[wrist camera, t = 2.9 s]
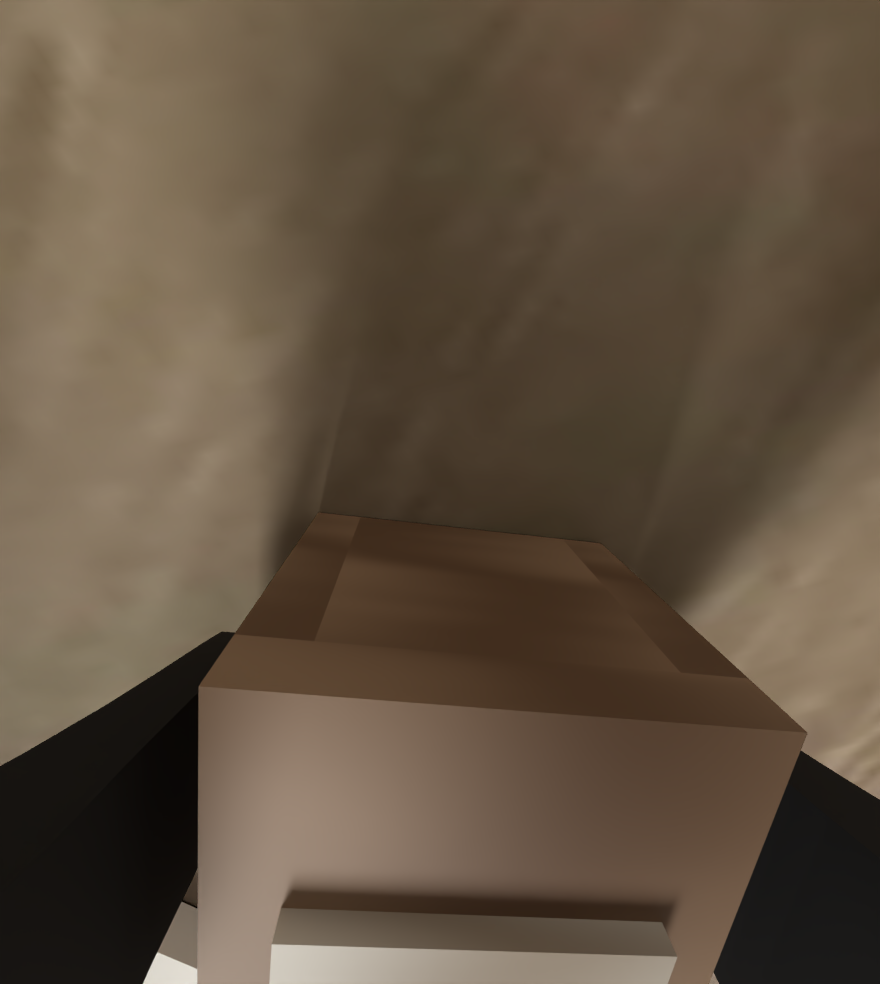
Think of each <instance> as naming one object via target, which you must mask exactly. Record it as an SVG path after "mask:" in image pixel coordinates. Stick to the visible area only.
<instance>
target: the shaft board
mask: <svg viewBox="0 0 880 984" xmlns="http://www.w3.org/2000/svg"><path fill="white" fill-rule="evenodd" d="M197 945H198V909H197V908H195V907H192V906H190V905H188V904H186V903H183V902H181V904H180V906H179V908H178V910H177V912H176V914H175V917H174V919H173V921H172V923H171V925H170V927H169V929H168V931H167V933H166V935H165V937H164V940H163V942H162V944H161V946H160V948H159V950H158V952H157V954H156V956H155V958H154V960H153V963H152V965H151V967H150V969H149V971H148V973H147V976H146V978H145V980H144V982H143V984H197Z"/></svg>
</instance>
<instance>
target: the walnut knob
mask: <svg viewBox="0 0 880 984" xmlns="http://www.w3.org/2000/svg"><path fill="white" fill-rule="evenodd" d="M806 735H807V732H806V731H805V730H804V729H803V728H802V727H801V726H800V725H798V724H797V723H796V722H795V721H794V720H793V719H792V718H791V717H790V716H789V715H788V714H786V713H785V712H784V711H783V710H782V709H781V708H780V707H779V706H778V705H777V704H776V703H774V702H773V701H772V700H771V699H770V698H769V697H768V696H767V695H766V694H765V693H764V692H762V691H761V690H760V689H759V688H758V687H757V686H756V685H755V684H754V683H753V682H752V681H750V680H749V679H748V678H747V677H746V676H745V675H744V674H743V673H742V672H741V671H740V670H739V669H737V668H736V667H735V666H734V665H733V664H732V663H731V662H730V661H729V660H728V659H727V658H725V657H724V656H723V655H722V654H721V653H720V652H719V651H718V650H717V649H716V648H715V647H713V646H712V645H711V644H710V643H709V642H708V641H707V640H706V639H705V638H704V637H703V636H701V635H700V634H699V633H698V632H697V631H696V630H695V629H694V628H693V627H692V626H691V625H689V624H688V623H687V622H686V621H685V620H684V619H683V618H682V617H681V616H680V615H679V614H677V613H676V612H675V611H674V610H673V609H672V608H671V607H670V606H669V605H668V604H667V603H666V602H664V601H663V600H662V599H661V598H660V597H659V596H658V595H657V594H656V593H655V592H654V591H652V590H651V589H650V588H649V587H648V586H647V585H646V584H645V583H644V582H643V581H642V580H640V579H639V578H638V577H637V576H636V575H635V574H634V573H633V572H632V571H631V570H630V569H628V568H627V567H626V566H625V565H624V564H623V563H622V562H621V561H620V560H619V559H618V558H616V557H615V556H614V555H613V554H612V553H611V552H610V551H609V550H608V549H607V548H606V547H604V546H603V545H602V544H601V543H594V542H584V541H575V540H566V539H557V538H548V537H539V536H530V535H521V534H511V533H502V532H493V531H484V530H475V529H466V528H457V527H447V526H438V525H429V524H420V523H411V522H402V521H393V520H384V519H374V518H365V517H356V516H347V515H338V514H329V513H320V512H318V514H317V515H316V517H315V518H314V520H313V521H312V522H311V524H310V525H309V527H308V528H307V530H306V531H305V533H304V534H303V536H302V537H301V538H300V540H299V541H298V543H297V544H296V546H295V547H294V549H293V550H292V551H291V553H290V554H289V556H288V557H287V559H286V560H285V562H284V563H283V565H282V566H281V567H280V569H279V570H278V572H277V573H276V575H275V576H274V578H273V579H272V581H271V582H270V583H269V585H268V586H267V588H266V589H265V591H264V592H263V594H262V595H261V597H260V598H259V599H258V601H257V602H256V604H255V605H254V607H253V608H252V610H251V611H250V612H249V614H248V615H247V617H246V618H245V620H244V621H243V623H242V624H241V626H240V627H239V628H238V630H237V631H236V633H235V634H234V636H233V637H232V639H231V640H230V642H229V643H228V644H227V646H226V647H225V649H224V650H223V652H222V653H221V655H220V656H219V657H218V659H217V660H216V662H215V663H214V665H213V666H212V668H211V669H210V671H209V672H208V673H207V675H206V676H205V678H204V679H203V681H202V682H201V684H200V685H199V704H198V945H197V984H709V982H710V979H711V977H712V974H713V972H714V969H715V967H716V964H717V962H718V959H719V957H720V954H721V951H722V949H723V946H724V944H725V941H726V939H727V936H728V934H729V931H730V929H731V926H732V923H733V921H734V918H735V916H736V913H737V911H738V908H739V906H740V903H741V901H742V898H743V895H744V893H745V890H746V888H747V885H748V883H749V880H750V878H751V875H752V873H753V870H754V868H755V865H756V862H757V860H758V857H759V855H760V852H761V850H762V847H763V845H764V842H765V840H766V837H767V834H768V832H769V829H770V827H771V824H772V822H773V819H774V817H775V814H776V812H777V809H778V806H779V804H780V801H781V799H782V796H783V794H784V791H785V789H786V786H787V784H788V781H789V778H790V776H791V773H792V771H793V768H794V766H795V763H796V761H797V758H798V756H799V753H800V750H801V748H802V745H803V743H804V740H805V738H806Z"/></svg>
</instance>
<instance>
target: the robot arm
mask: <svg viewBox="0 0 880 984" xmlns="http://www.w3.org/2000/svg"><path fill="white" fill-rule="evenodd" d="M234 634H235V633H232V632H220V633H219V634H217V635H215V636H214V637H212V638H210V639H209V640H207V641H205V642H204V643H202V644H201V645H199V646H198V647H196V648H195V649H193V650H192V651H190V652H188V653H187V654H185V655H184V656H182V657H181V658H179V659H178V660H176V661H175V662H173V663H172V664H170V665H169V666H167V667H165V668H164V669H162V670H161V671H159V672H158V673H156V674H155V675H153V676H151V677H150V678H148V679H147V680H145V681H144V682H142V683H140V684H139V685H137V686H136V687H134V688H132V689H131V690H129V691H128V692H126V693H125V694H123V695H121V696H120V697H118V698H117V699H115V700H114V701H112V702H110V703H109V704H107V705H105V706H104V707H102V708H100V709H99V710H97V711H95V712H93V713H92V714H90V715H88V716H87V717H85V718H83V719H82V720H80V721H78V722H76V723H75V724H73V725H71V726H70V727H68V728H66V729H64V730H63V731H61V732H59V733H58V734H56V735H54V736H52V737H51V738H49V739H47V740H46V741H44V742H42V743H41V744H39V745H37V746H35V747H34V748H32V749H30V750H29V751H27V752H25V753H23V754H22V755H20V756H18V757H16V758H14V759H12V760H11V761H9V762H7V763H5V764H3V765H2V766H0V984H143V982H144V980H145V978H146V976H147V973H148V971H149V969H150V967H151V965H152V963H153V960H154V958H155V956H156V954H157V952H158V950H159V948H160V946H161V944H162V942H163V940H164V937H165V935H166V933H167V931H168V929H169V927H170V925H171V923H172V921H173V919H174V917H175V914H176V912H177V910H178V908H179V906H180V904H181V902H182V900H183V898H184V896H185V894H186V891H187V889H188V887H189V885H190V883H191V881H192V879H193V877H194V875H195V873H196V871H197V869H198V704H199V685H200V684H201V682H202V681H203V679H204V678H205V676H206V675H207V673H208V672H209V671H210V669H211V668H212V666H213V665H214V663H215V662H216V660H217V659H218V657H219V656H220V655H221V653H222V652H223V650H224V649H225V647H226V646H227V644H228V643H229V642H230V640H231V639H232V637H233V636H234ZM714 974H715V976H716V978H717V980H718V982H719V984H880V800H879V799H878V798H876V797H874V796H873V795H871V794H869V793H868V792H866V791H864V790H863V789H861V788H859V787H858V786H856V785H855V784H853V783H851V782H850V781H848V780H846V779H845V778H843V777H842V776H840V775H838V774H837V773H835V772H834V771H832V770H831V769H829V768H827V767H826V766H824V765H823V764H821V763H819V762H818V761H816V760H815V759H813V758H812V757H810V756H809V755H807V754H805V753H804V752H802V751H801V750H800V753H799V756H798V758H797V761H796V763H795V766H794V768H793V771H792V773H791V776H790V778H789V781H788V784H787V786H786V789H785V791H784V794H783V796H782V799H781V801H780V804H779V806H778V809H777V812H776V814H775V817H774V819H773V822H772V824H771V827H770V829H769V832H768V834H767V837H766V840H765V842H764V845H763V847H762V850H761V852H760V855H759V857H758V860H757V862H756V865H755V868H754V870H753V873H752V875H751V878H750V880H749V883H748V885H747V888H746V890H745V893H744V895H743V898H742V901H741V903H740V906H739V908H738V911H737V913H736V916H735V918H734V921H733V923H732V926H731V929H730V931H729V934H728V936H727V939H726V941H725V944H724V946H723V949H722V951H721V954H720V957H719V959H718V962H717V964H716V967H715V969H714Z"/></svg>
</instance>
